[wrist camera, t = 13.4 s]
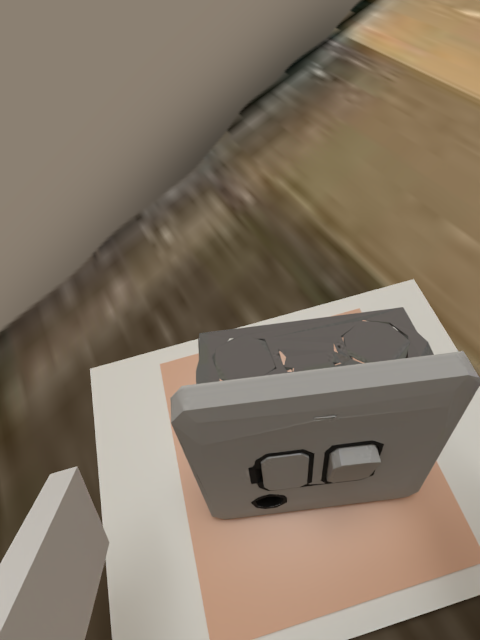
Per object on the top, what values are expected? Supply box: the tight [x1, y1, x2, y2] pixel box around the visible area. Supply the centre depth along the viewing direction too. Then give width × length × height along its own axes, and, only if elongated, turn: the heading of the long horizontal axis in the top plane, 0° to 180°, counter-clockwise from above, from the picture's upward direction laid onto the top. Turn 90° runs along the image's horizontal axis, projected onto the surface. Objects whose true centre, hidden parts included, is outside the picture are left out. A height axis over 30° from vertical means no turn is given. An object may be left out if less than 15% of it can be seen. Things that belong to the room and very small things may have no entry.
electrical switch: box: [170, 307, 480, 519], centre depth 15 cm, size 9×5×9 cm, turn 96°
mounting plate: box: [90, 279, 480, 640], centre depth 19 cm, size 20×15×1 cm
